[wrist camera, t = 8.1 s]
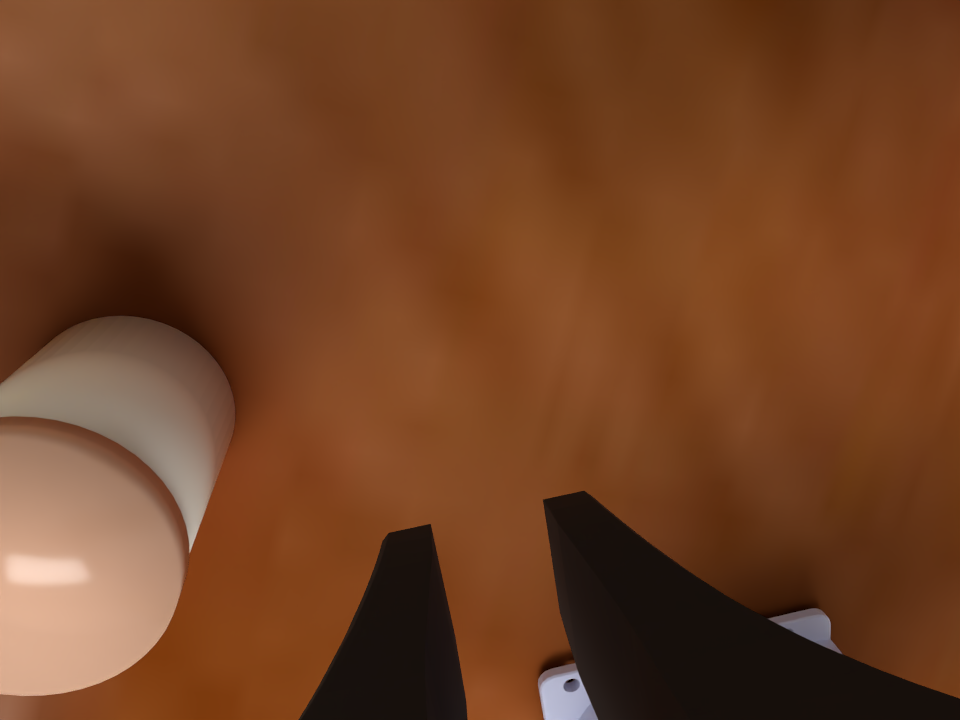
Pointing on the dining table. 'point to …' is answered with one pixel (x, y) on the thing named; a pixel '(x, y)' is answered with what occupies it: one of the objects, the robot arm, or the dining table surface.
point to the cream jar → (102, 496)
